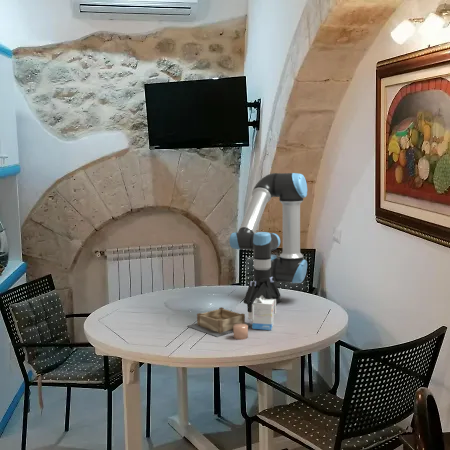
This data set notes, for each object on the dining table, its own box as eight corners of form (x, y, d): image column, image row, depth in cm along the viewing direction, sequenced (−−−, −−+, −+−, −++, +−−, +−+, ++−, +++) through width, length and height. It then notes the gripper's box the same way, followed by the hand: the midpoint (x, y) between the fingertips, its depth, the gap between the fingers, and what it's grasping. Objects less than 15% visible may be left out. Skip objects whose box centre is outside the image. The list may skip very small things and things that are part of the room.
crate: (224, 316, 282) (224, 304, 281) (254, 325, 267) (254, 313, 266) (187, 326, 267) (187, 314, 267) (217, 337, 253) (216, 324, 252)
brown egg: (241, 334, 256) (240, 322, 255) (250, 337, 252) (250, 325, 251) (230, 337, 252) (230, 325, 251) (240, 340, 248) (240, 328, 247)
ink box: (271, 330, 260) (272, 300, 258) (251, 328, 261) (252, 298, 259) (273, 324, 268) (274, 295, 266) (254, 322, 270) (256, 293, 268)
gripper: (275, 263, 272) (276, 309, 275) (235, 271, 256) (235, 320, 258) (288, 265, 266) (288, 312, 269) (247, 273, 250) (247, 323, 253)
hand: (262, 316), depth 264 cm, fingers open, 13 cm apart
